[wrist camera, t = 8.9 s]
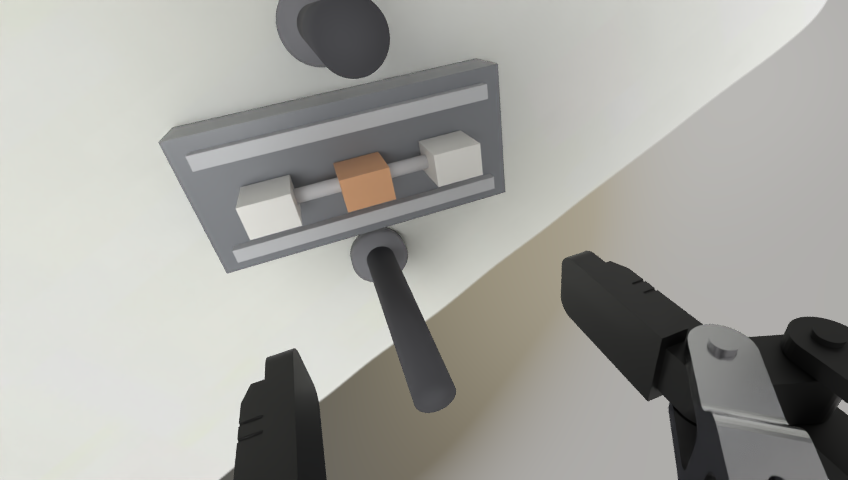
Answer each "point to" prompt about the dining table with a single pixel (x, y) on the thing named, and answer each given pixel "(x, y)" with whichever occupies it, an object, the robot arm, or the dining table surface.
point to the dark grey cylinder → (335, 34)
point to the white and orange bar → (356, 183)
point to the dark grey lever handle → (403, 318)
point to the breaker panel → (337, 156)
